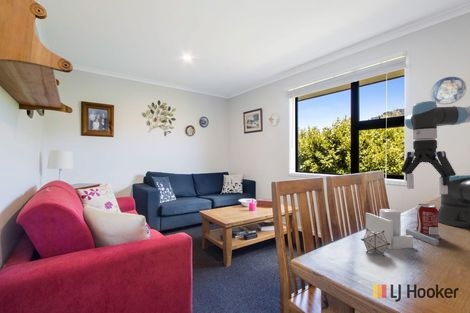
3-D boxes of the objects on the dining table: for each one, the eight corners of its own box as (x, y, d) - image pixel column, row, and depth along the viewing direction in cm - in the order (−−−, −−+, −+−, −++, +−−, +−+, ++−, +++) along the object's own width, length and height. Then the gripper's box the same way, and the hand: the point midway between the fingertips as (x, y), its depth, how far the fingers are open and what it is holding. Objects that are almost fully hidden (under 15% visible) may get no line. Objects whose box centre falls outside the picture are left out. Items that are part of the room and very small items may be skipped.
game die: (378, 267, 74) (378, 250, 68) (355, 249, 81) (354, 232, 75) (396, 251, 76) (397, 233, 70) (372, 234, 83) (372, 217, 77)
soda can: (442, 237, 87) (442, 207, 87) (422, 236, 88) (422, 206, 88) (431, 231, 93) (431, 203, 93) (412, 230, 95) (412, 203, 95)
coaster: (423, 230, 97) (423, 229, 97) (446, 238, 88) (446, 236, 88) (405, 232, 95) (405, 230, 95) (426, 239, 86) (426, 238, 86)
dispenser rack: (408, 233, 93) (408, 205, 93) (438, 245, 81) (438, 212, 81) (365, 237, 90) (365, 207, 90) (390, 249, 78) (390, 216, 78)
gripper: (391, 141, 103) (392, 187, 103) (451, 137, 78) (452, 197, 78) (404, 141, 104) (405, 186, 104) (468, 137, 79) (469, 196, 80)
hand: (425, 191), depth 91 cm, fingers open, 13 cm apart
